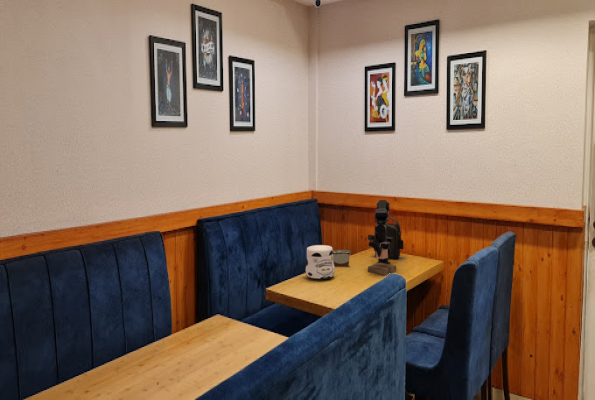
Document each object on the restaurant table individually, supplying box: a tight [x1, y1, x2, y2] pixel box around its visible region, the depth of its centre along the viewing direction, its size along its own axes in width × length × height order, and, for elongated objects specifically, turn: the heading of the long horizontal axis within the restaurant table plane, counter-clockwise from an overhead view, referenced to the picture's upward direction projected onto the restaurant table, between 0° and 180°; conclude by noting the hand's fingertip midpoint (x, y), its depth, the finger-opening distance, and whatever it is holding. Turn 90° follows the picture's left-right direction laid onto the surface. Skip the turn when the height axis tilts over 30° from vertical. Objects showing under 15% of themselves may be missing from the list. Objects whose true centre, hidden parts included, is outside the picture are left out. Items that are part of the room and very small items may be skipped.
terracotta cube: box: [375, 249, 388, 259], centre depth 283 cm, size 5×5×5 cm
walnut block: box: [367, 262, 397, 276], centre depth 285 cm, size 12×12×4 cm
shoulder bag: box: [370, 216, 407, 262], centre depth 317 cm, size 23×9×28 cm, turn 52°
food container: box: [333, 249, 352, 268], centre depth 301 cm, size 12×6×10 cm, turn 84°
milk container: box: [305, 244, 336, 281], centre depth 276 cm, size 17×17×18 cm
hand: (381, 255), depth 284 cm, fingers closed on terracotta cube, 5 cm apart
